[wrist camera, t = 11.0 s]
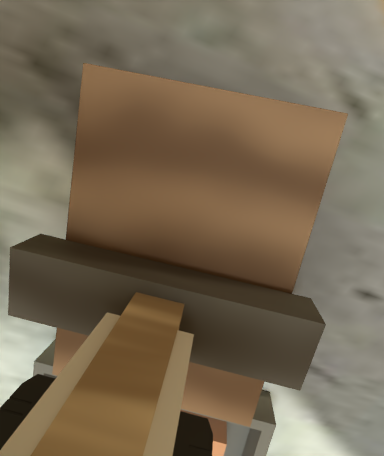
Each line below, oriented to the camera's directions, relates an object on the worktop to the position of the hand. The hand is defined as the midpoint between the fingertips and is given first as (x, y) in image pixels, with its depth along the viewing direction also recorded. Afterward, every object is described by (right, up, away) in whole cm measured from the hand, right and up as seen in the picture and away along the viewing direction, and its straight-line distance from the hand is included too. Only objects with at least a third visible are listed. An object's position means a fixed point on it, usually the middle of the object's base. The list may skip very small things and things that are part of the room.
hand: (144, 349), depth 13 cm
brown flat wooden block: (+2, +4, +8) cm, 9 cm away
